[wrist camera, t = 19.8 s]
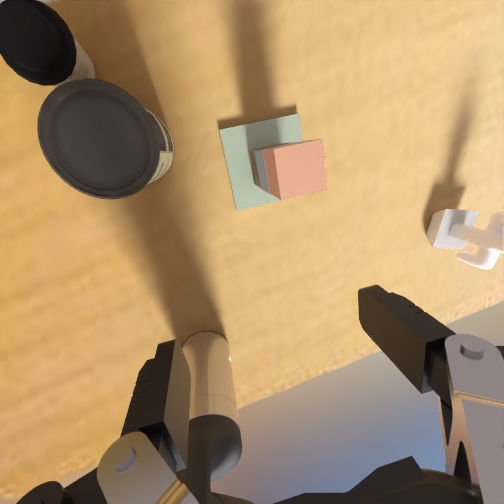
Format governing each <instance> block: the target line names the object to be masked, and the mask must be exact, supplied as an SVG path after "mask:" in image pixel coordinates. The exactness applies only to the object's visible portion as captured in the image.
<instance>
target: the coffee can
mask: <svg viewBox="0 0 504 504" xmlns="http://www.w3.org/2000/svg"><path fill="white" fill-rule="evenodd" d="M37 130H38V138H39V142H40V146H41V149H42V151H43V154H44V156H45V158H46V160H47V161H48V163H49V165H50V166H51V167H52V169H53V170H54V171H55V172H56V174H57V175H58V176H59V177H60V178H61V179H62V180H63V181H65V182H66V183H67V184H69V185H70V186H71V187H73V188H74V189H76V190H78V191H80V192H82V193H84V194H87V195H89V196H92V197H96V198H101V199H120V198H124V197H128V196H131V195H133V194H135V193H137V192H138V191H140V190H141V189H142V188H144V187H145V186H146V185H148V184H149V183H151V182H153V181H155V180H157V179H159V178H161V177H162V176H163V175H164V174H165V173H166V172H167V171H168V169H169V168H170V166H171V163H172V160H173V156H174V145H173V140H172V137H171V134H170V132H169V130H168V128H167V127H166V125H165V124H164V122H163V121H162V120H161V119H160V118H159V117H158V116H156V115H155V114H154V113H152V112H151V111H149V110H147V109H146V108H145V107H143V106H142V105H141V104H140V103H139V102H138V101H137V100H136V99H135V98H134V97H133V96H132V95H130V94H129V93H128V92H126V91H125V90H123V89H122V88H120V87H118V86H116V85H113V84H111V83H109V82H105V81H102V80H97V79H89V78H85V79H76V80H72V81H68V82H66V83H64V84H62V85H60V86H58V87H57V88H55V89H54V90H53V91H52V92H51V93H50V94H49V95H48V96H47V98H46V99H45V101H44V102H43V104H42V106H41V109H40V112H39V116H38V125H37Z"/></svg>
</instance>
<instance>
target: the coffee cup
mask: <svg viewBox="0 0 504 504" xmlns="http://www.w3.org/2000/svg"><path fill="white" fill-rule="evenodd" d="M0 54H1V56H2V57H3V59H4V60H5V62H6V63H7V64H8V65H9V66H10V67H11V68H12V69H13V70H14V71H15V72H16V73H17V74H18V75H19V76H21V77H23V78H25V79H26V80H28V81H30V82H32V83H36V84H39V85H43V86H45V85H54V86H60V85H62V84H64V83H66V82H68V81H72V80H76V79H85V78H89V79H96V71H95V67H94V64H93V63H92V61H91V59H90V58H89V56H88V55H87V54H86V52H85V51H84V50H83V48H82V47H81V46H80V45H79V43H78V42H77V41H76V39H75V38H74V37H73V35H72V33H71V31H70V30H69V28H68V26H67V24H66V23H65V21H64V20H63V19H62V18H61V17H60V16H59V15H58V14H57V12H56V11H54V10H53V9H51V8H50V7H49V6H47V5H46V4H44V3H43V2H40V1H37V0H5V1H3V2H2V3H1V4H0Z"/></svg>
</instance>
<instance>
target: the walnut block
mask: <svg viewBox="0 0 504 504" xmlns="http://www.w3.org/2000/svg"><path fill="white" fill-rule="evenodd" d="M289 143H290V142H289ZM283 144H288V143H281V144H276V145H271V146H266V147H262V148H257V149H252V150H248V154H249V159H250V165H251V170H252V175H253V181H254V184H255V185H256V186H258V187H260V188H261V186H260V180H259V175H258V170H257V164H256V159H255V154H254V151H257V150H261V149H265V148H270V147H274V146H279V145H283Z"/></svg>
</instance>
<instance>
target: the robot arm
mask: <svg viewBox="0 0 504 504" xmlns="http://www.w3.org/2000/svg"><path fill="white" fill-rule="evenodd" d="M358 305H359V320H360V323H361V326H362V328H363V330H364V331H365V332H366V333H367V334H368V336H369V337H370V338H371V339H372V340H373V341H374V342H375V343H376V344H377V345H378V347H379V348H380V349H381V350H382V351H383V352H384V353H385V354H386V355H387V356H388V357H389V359H390V360H391V361H392V362H393V363H394V364H395V365H396V366H397V367H398V369H399V370H400V371H401V372H402V373H403V374H404V375H405V376H406V377H407V379H408V380H409V381H410V382H411V383H412V384H413V385H414V386H415V387H416V388H417V389H418V391H419V392H420V393H421V394H423V393H426V392H429V391H432V390H434V391H435V392H436V393H437V394H438V406H439V414H440V421H441V428H442V436H443V444H444V451H445V473H444V472H440V471H435V470H430V469H421V468H420V467H419V466H418V464H417V463H416V461H415V460H414V458H413V457H412V456H411V457H408V458H405V459H402V460H399V461H396V462H393V463H390V464H387V465H385V466H382V467H379V468H377V469H376V470H374V471H373V472H372V473H371V474H370V475H368V476H367V477H366V478H365V479H364V480H362V481H361V482H360V483H359V484H357V485H356V486H355V487H354V488H353V489H351V490H350V491H348V492H345V493H303V494H300V495H298V496H295V497H292V498H289V499H286V500H283V501H280V502H277V503H274V504H504V346H494V345H493V344H492V343H490V342H488V341H486V340H484V339H482V338H480V337H477V336H473V335H468V334H456V333H454V332H453V331H452V330H450V329H449V328H447V327H446V326H445V325H443V324H442V323H440V322H439V321H438V320H436V319H435V318H433V317H432V316H431V315H429V314H428V313H426V312H424V311H423V310H422V309H421V308H419V307H418V306H415V304H414V303H412V302H411V301H410V300H408V299H407V298H405V297H403V296H400V295H398V294H395V293H388V292H387V291H385V290H384V289H383V288H381V287H380V286H379V285H373V286H369V287H366V288H362V289H359V291H358ZM241 453H242V441H241V434H240V428H239V420H238V412H237V406H236V398H235V390H234V383H233V375H232V368H231V360H230V352H229V346H228V343H227V341H226V339H225V338H224V337H223V336H221V335H220V334H217V333H215V332H200V333H197V334H194V335H193V336H191V337H190V338H188V339H187V340H186V342H185V343H184V345H183V347H181V345H180V342H179V340H178V339H174V340H171V341H167V342H163V343H160V344H158V346H157V350H156V355H155V358H153V359H150V360H147V361H146V363H145V364H144V366H143V367H142V368H141V370H140V371H139V374H138V377H137V381H136V386H135V388H134V391H133V396H132V398H131V402H130V405H129V409H128V412H127V416H126V419H125V422H124V426H123V429H122V433H121V436H120V438H119V439H118V440H116V441H115V442H114V443H113V444H112V445H111V446H110V447H109V448H108V449H107V450H106V452H105V453H104V455H103V456H102V458H101V460H100V462H99V465H98V467H97V468H95V469H94V470H93V471H91V472H89V473H88V474H86V475H85V476H83V477H81V478H80V479H78V480H77V481H75V482H73V483H72V484H70V485H69V486H67V487H65V488H63V487H62V486H61V484H60V483H58V482H56V481H49V482H46V483H43V484H41V485H39V486H37V487H35V488H34V489H32V490H31V491H30V492H28V493H27V494H26V495H25V496H23V497H22V498H21V499H20V500H19V501H18V502H17V504H253V503H252V502H250V501H247V500H244V499H240V498H236V497H232V496H227V495H223V494H218V493H213V492H211V489H210V482H211V481H214V480H217V479H219V478H221V477H223V476H224V475H226V474H227V473H229V472H230V471H231V470H232V469H233V468H234V467H235V466H236V464H237V463H238V462H239V459H240V457H241Z"/></svg>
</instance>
